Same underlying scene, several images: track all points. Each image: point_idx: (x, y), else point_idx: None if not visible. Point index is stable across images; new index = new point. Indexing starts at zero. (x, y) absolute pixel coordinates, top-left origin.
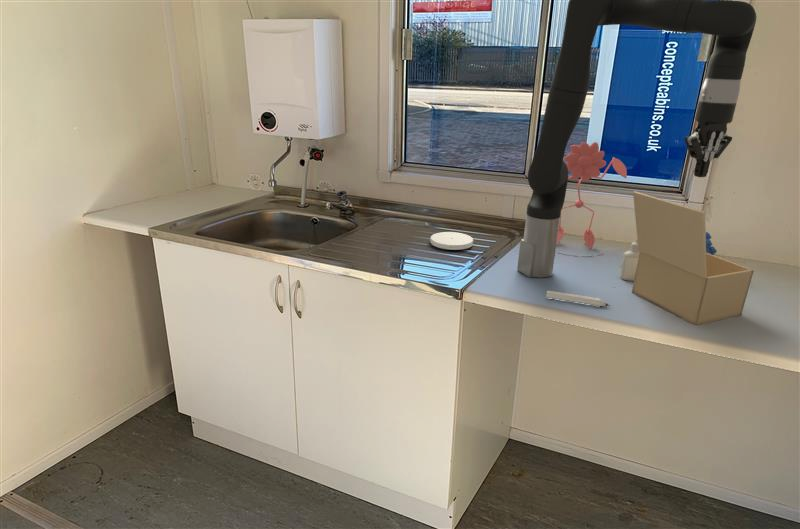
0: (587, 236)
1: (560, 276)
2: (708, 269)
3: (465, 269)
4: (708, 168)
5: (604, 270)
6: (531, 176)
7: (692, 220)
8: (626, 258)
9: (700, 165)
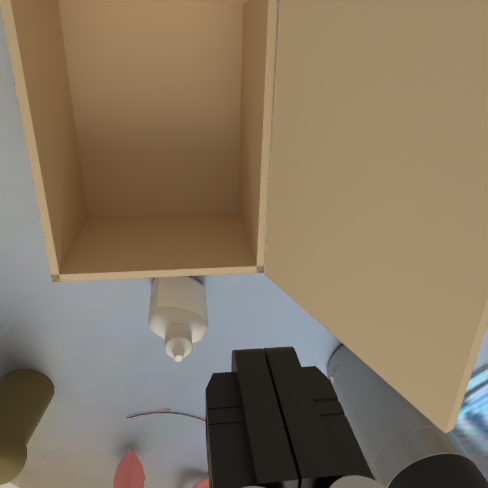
0: (134, 484)
1: (329, 334)
2: (54, 149)
3: (475, 401)
4: (212, 422)
5: (200, 340)
6: None
7: None
8: (206, 318)
9: (357, 447)
